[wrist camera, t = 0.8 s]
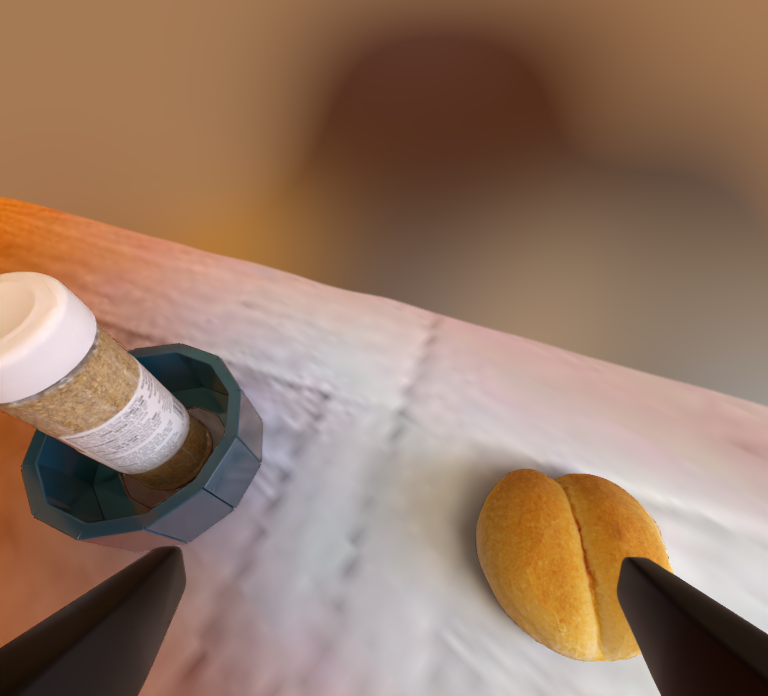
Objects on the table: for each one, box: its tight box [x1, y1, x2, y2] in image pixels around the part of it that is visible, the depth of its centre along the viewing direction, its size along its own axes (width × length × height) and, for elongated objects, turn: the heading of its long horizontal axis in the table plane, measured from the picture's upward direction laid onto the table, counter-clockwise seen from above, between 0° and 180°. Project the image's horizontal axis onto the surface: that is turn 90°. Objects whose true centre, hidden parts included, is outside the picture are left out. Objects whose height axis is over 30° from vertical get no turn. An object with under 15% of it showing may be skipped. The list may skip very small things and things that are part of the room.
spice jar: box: [0, 272, 212, 490], centre depth 17 cm, size 5×5×13 cm
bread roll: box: [476, 469, 673, 661], centre depth 18 cm, size 8×9×4 cm
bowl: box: [21, 343, 263, 552], centre depth 21 cm, size 10×10×4 cm
